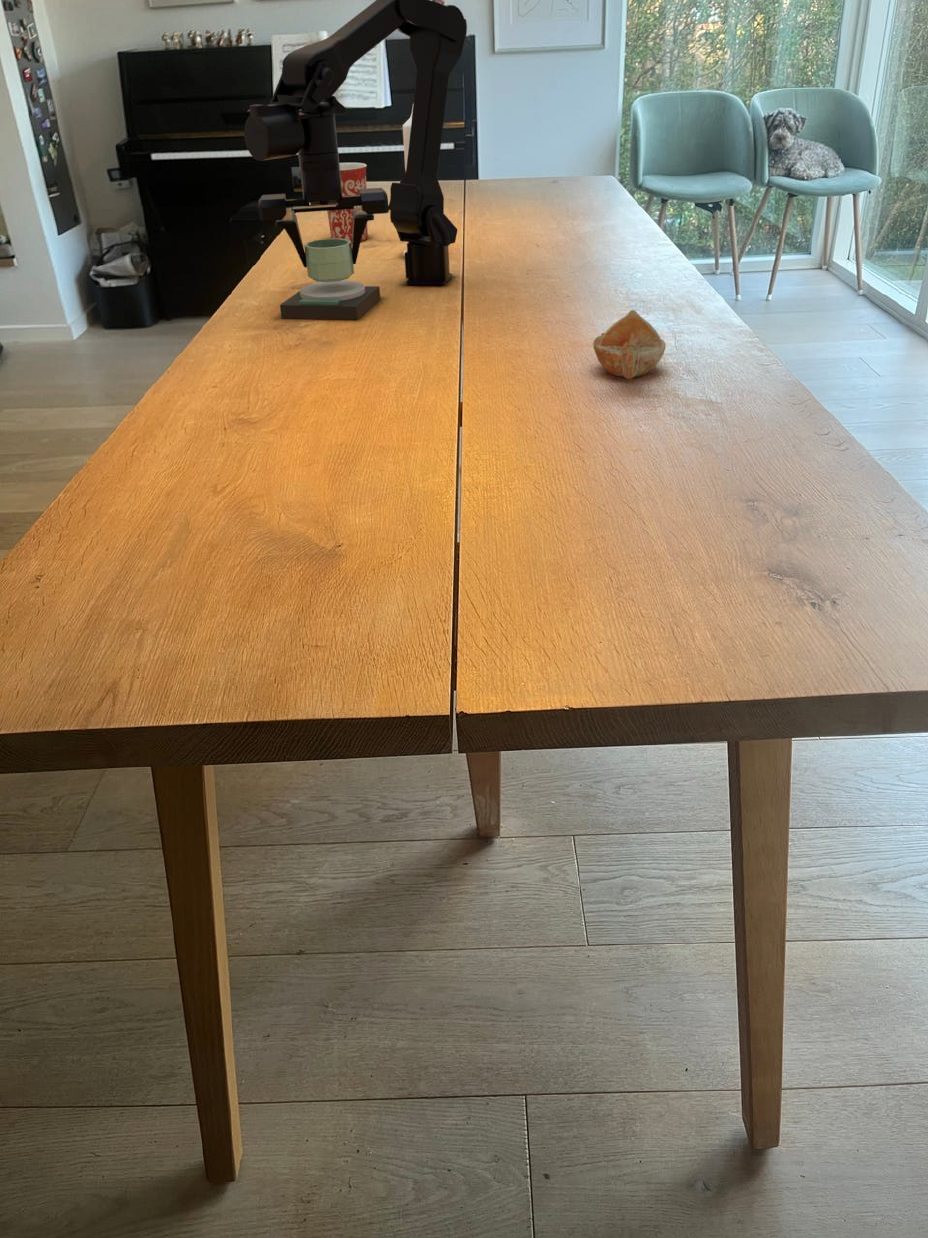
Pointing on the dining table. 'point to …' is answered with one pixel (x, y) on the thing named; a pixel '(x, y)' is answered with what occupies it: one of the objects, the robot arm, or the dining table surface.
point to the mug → (351, 183)
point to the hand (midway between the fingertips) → (330, 265)
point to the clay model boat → (629, 347)
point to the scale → (331, 301)
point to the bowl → (329, 259)
